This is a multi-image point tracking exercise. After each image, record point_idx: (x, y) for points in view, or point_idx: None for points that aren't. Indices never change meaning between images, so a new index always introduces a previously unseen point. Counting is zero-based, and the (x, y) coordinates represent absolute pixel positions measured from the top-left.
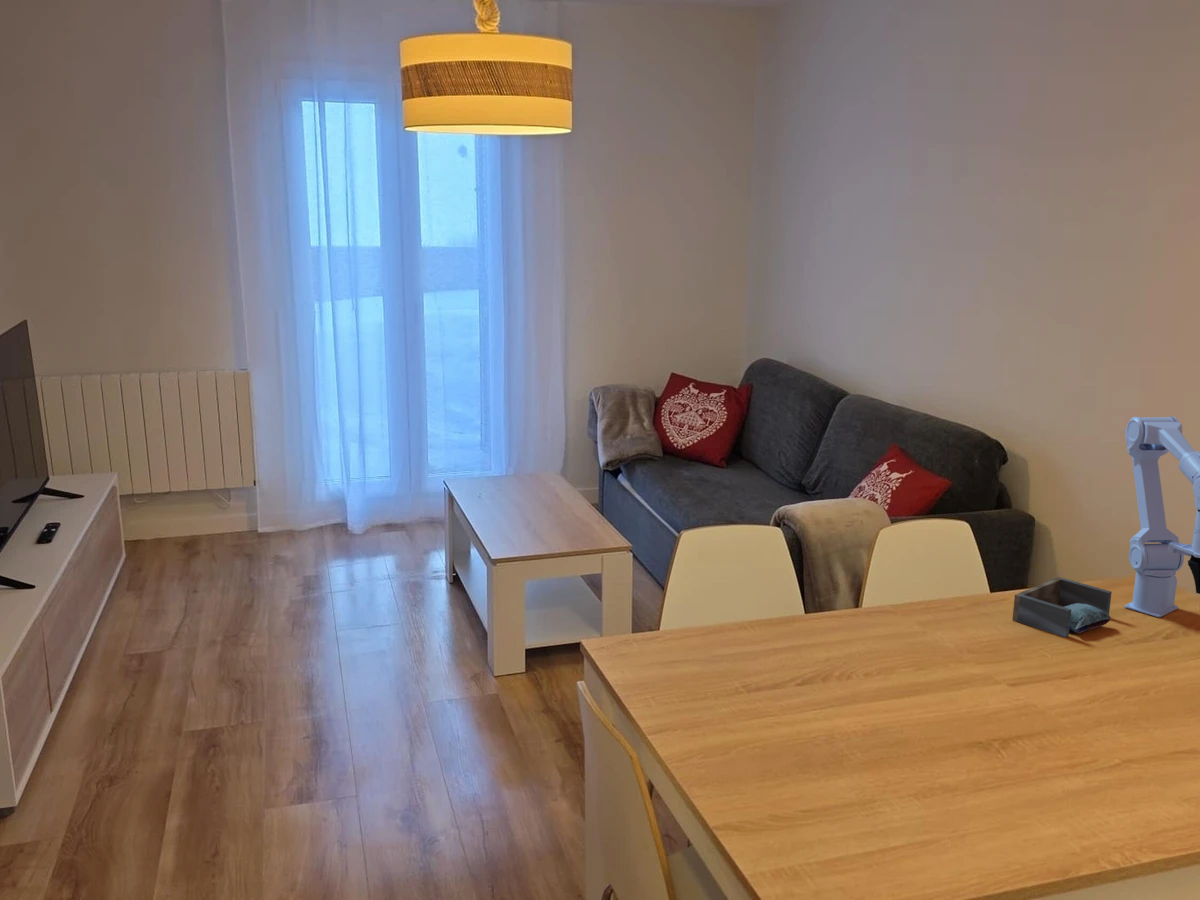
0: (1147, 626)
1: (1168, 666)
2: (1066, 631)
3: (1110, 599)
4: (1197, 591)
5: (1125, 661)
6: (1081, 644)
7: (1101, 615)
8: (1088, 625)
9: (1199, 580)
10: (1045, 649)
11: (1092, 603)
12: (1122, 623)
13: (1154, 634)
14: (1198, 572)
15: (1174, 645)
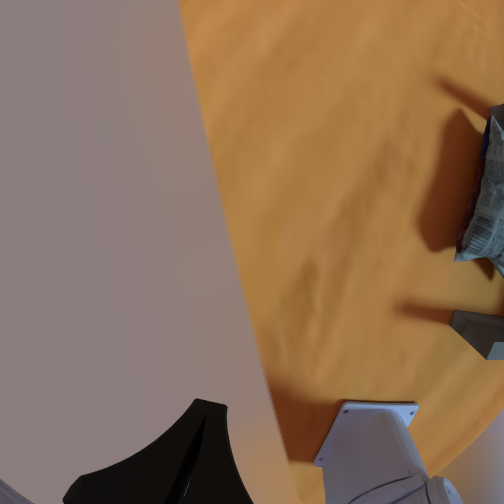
0: (364, 331)
1: (245, 58)
2: (498, 107)
3: (474, 346)
4: (218, 407)
5: (342, 27)
6: (455, 82)
7: (483, 217)
8: (484, 154)
9: (201, 449)
10: (477, 25)
11: (495, 325)
12: (420, 307)
13: (339, 283)
14: (194, 483)
15: (273, 231)
